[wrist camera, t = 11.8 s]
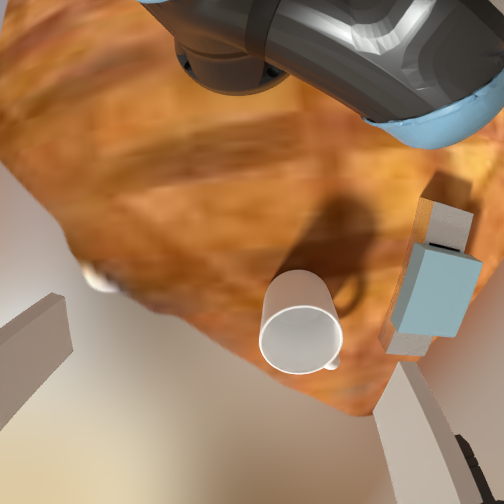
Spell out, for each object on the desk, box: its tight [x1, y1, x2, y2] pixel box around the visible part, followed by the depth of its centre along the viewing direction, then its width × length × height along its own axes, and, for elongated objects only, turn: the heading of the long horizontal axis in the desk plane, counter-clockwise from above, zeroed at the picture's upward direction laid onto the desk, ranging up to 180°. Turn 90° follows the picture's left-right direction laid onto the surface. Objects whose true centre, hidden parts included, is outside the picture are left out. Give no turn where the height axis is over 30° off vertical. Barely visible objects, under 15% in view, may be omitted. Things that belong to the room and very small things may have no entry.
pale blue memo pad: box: [390, 242, 483, 337], centre depth 32 cm, size 10×9×6 cm
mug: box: [259, 270, 343, 374], centre depth 34 cm, size 12×8×10 cm
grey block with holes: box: [378, 197, 474, 356], centre depth 34 cm, size 20×6×4 cm, turn 171°
